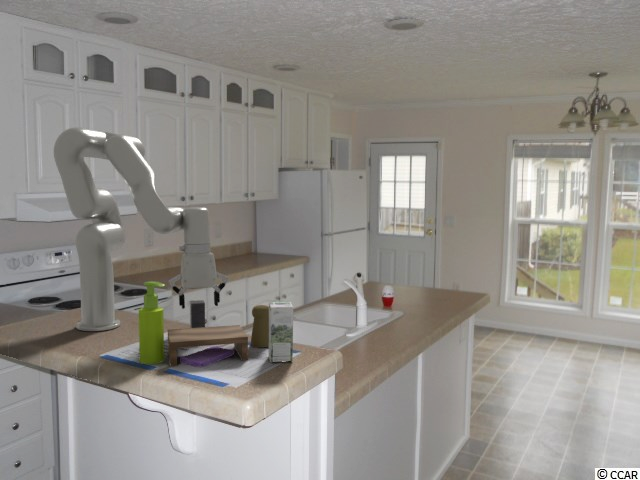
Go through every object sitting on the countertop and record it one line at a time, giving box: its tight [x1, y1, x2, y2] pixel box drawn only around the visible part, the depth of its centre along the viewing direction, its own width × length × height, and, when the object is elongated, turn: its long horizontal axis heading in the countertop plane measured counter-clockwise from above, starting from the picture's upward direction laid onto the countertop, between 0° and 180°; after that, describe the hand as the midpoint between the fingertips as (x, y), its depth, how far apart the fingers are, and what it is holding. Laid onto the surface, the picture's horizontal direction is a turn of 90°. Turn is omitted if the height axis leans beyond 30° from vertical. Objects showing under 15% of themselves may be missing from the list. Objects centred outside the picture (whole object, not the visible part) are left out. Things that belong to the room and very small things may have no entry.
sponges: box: [180, 345, 235, 368], centre depth 145 cm, size 7×13×2 cm, turn 149°
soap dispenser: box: [138, 281, 166, 365], centre depth 141 cm, size 6×7×20 cm
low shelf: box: [167, 324, 249, 367], centre depth 146 cm, size 12×19×6 cm, turn 108°
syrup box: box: [268, 301, 294, 364], centre depth 144 cm, size 6×6×14 cm
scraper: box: [185, 299, 206, 329], centre depth 164 cm, size 16×7×9 cm, turn 18°
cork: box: [250, 304, 269, 348], centre depth 157 cm, size 6×6×11 cm
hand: (199, 306), depth 169 cm, fingers open, 9 cm apart
